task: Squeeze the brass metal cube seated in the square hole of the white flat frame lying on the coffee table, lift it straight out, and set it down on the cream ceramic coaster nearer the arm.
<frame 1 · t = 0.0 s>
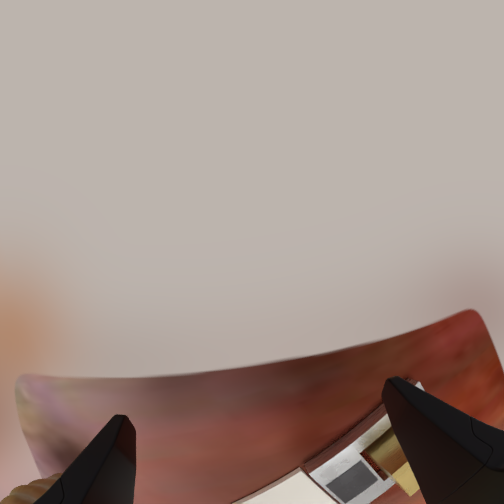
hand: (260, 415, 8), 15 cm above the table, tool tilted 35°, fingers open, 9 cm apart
white flat frame: (379, 448, 21), on the table
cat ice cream: (92, 479, 18), on the table
brass metal cube: (386, 441, 21), resting in white flat frame
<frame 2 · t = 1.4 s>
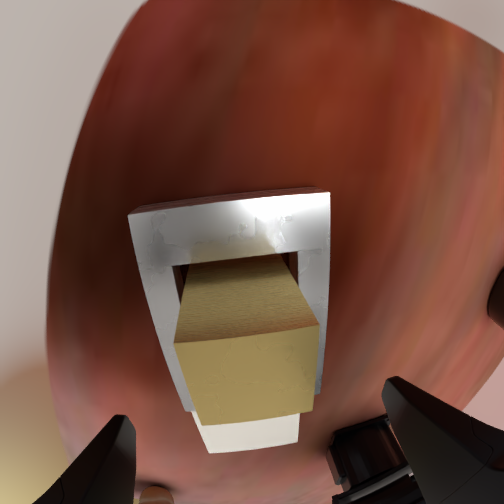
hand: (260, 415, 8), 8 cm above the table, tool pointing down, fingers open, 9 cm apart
supplement bottle: (503, 288, 20), on the table
coaster: (248, 419, 20), on the table
white flat frame: (240, 308, 16), on the table
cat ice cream: (158, 486, 25), on the table
brass metal cube: (238, 292, 16), resting in white flat frame
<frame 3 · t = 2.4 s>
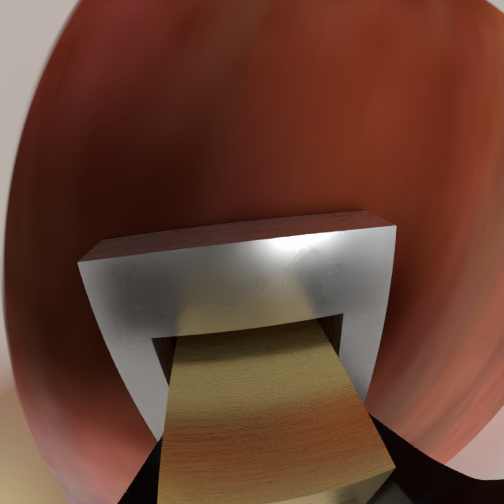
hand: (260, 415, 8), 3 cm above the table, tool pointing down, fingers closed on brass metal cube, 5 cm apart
white flat frame: (251, 374, 11), on the table
brass metal cube: (249, 356, 11), resting in white flat frame, touching gripper
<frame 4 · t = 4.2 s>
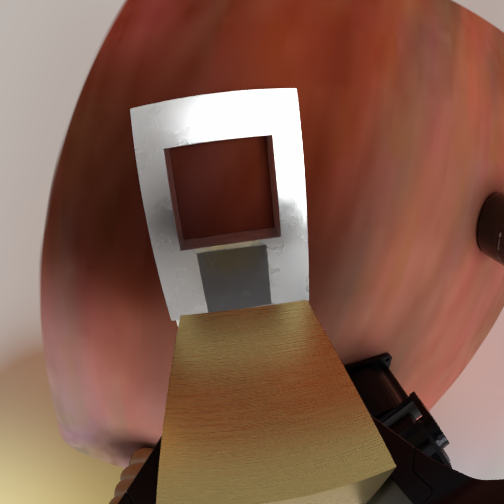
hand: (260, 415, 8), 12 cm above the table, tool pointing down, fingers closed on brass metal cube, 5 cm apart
supplement bottle: (491, 223, 21), on the table
white flat frame: (225, 204, 17), on the table
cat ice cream: (150, 448, 26), on the table
brass metal cube: (249, 356, 11), point 9 cm above the table, touching gripper
when the fingers open (5 cm above the table, at t = 6.3 s): brass metal cube drops 1 cm, resting on coaster.
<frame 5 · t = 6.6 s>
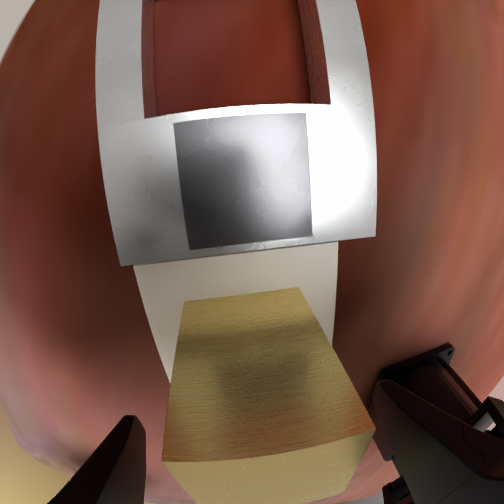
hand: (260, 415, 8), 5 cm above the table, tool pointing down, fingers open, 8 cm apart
coaster: (244, 329, 13), on the table
white flat frame: (231, 68, 9), on the table
brass metal cube: (247, 340, 12), point 1 cm above the table, touching coaster
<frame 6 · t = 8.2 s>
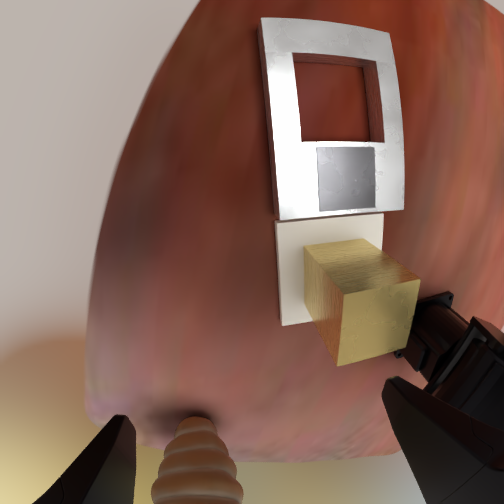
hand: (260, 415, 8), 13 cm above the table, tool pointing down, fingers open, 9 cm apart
coaster: (329, 267, 21), on the table
white flat frame: (331, 115, 17), on the table
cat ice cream: (197, 419, 26), on the table
brass metal cube: (334, 271, 20), point 1 cm above the table, touching coaster
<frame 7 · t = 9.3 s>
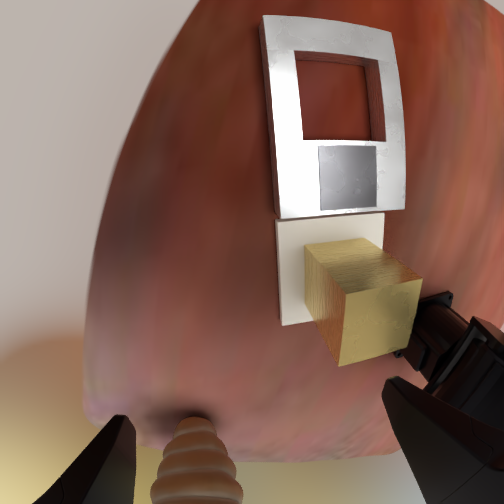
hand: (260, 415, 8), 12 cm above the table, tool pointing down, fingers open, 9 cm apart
coaster: (330, 266, 21), on the table
white flat frame: (333, 113, 17), on the table
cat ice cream: (196, 419, 25), on the table
brass metal cube: (334, 271, 20), point 1 cm above the table, touching coaster
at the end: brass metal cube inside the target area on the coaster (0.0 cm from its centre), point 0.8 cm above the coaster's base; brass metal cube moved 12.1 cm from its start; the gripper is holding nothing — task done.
